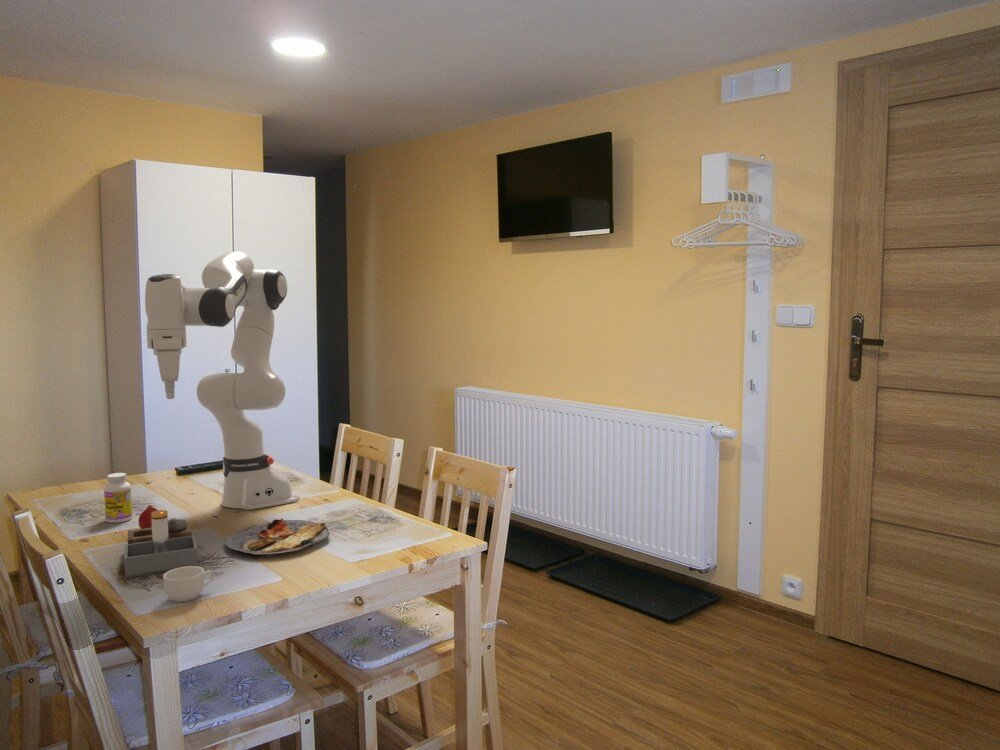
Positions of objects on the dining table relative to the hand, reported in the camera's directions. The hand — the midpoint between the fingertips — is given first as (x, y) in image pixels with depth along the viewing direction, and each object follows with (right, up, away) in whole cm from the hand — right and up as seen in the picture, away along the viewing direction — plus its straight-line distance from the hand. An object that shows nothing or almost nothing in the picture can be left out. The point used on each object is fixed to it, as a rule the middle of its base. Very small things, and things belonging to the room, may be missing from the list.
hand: (169, 396), depth 187 cm
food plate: (+26, -37, +3) cm, 46 cm away
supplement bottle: (-24, -35, +23) cm, 48 cm away
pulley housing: (-1, -38, -3) cm, 38 cm away
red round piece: (-9, -37, +10) cm, 39 cm away
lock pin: (+4, -38, -13) cm, 40 cm away
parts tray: (+4, -39, -13) cm, 41 cm away
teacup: (+18, -41, -31) cm, 54 cm away
